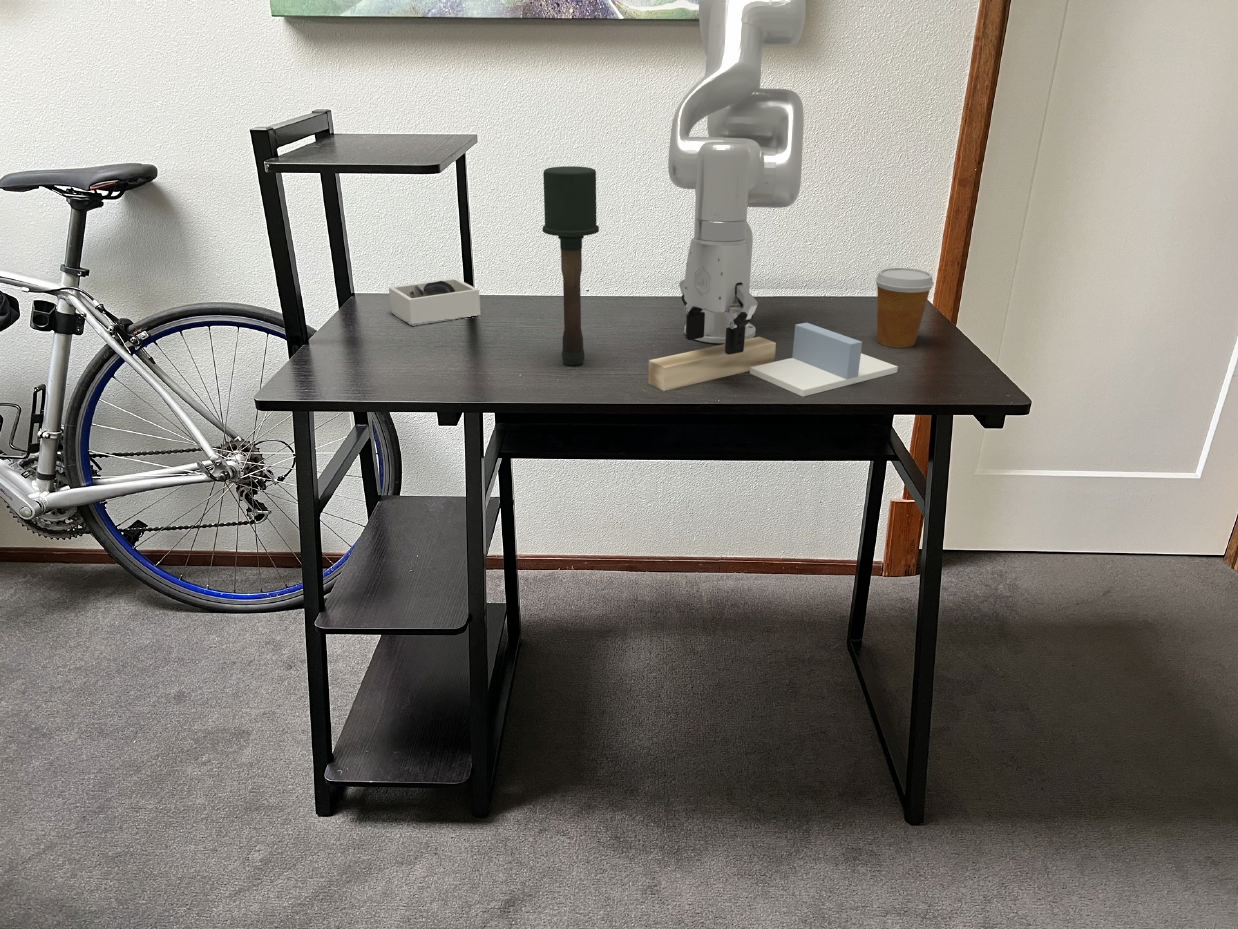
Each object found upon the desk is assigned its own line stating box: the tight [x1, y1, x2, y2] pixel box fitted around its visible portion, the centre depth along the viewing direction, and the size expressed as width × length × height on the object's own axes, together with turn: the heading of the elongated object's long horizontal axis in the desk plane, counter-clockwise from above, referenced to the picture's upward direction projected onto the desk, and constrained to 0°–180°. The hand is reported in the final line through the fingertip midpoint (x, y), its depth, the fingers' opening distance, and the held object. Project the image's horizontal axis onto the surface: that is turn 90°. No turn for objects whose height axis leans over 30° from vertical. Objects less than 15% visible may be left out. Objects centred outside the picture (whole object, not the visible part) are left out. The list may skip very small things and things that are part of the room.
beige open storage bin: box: [388, 277, 482, 324], centre depth 171 cm, size 11×14×5 cm
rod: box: [648, 336, 777, 392], centre depth 142 cm, size 4×22×4 cm, turn 124°
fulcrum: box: [749, 322, 899, 397], centre depth 142 cm, size 12×20×6 cm, turn 123°
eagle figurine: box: [407, 280, 455, 298], centre depth 171 cm, size 8×7×9 cm
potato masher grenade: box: [542, 165, 600, 366], centre depth 140 cm, size 8×9×30 cm
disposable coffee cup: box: [874, 267, 935, 349], centre depth 155 cm, size 10×10×12 cm
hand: (713, 345), depth 139 cm, fingers open, 9 cm apart
